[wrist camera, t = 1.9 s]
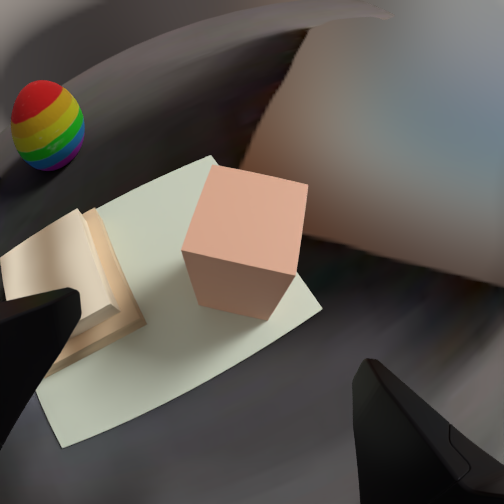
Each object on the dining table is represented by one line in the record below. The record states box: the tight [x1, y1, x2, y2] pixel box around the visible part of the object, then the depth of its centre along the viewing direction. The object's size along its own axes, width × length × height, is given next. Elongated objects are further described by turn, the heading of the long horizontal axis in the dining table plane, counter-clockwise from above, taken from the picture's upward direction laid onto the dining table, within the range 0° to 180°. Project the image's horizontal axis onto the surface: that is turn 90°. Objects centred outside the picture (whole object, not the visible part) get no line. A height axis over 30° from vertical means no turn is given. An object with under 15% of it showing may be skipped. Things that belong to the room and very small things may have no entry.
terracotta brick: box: [181, 165, 308, 321], centre depth 18 cm, size 5×5×9 cm
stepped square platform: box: [0, 208, 147, 378], centre depth 18 cm, size 10×10×4 cm
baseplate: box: [36, 155, 322, 448], centre depth 21 cm, size 23×17×1 cm
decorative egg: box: [11, 80, 84, 171], centre depth 22 cm, size 8×8×10 cm
